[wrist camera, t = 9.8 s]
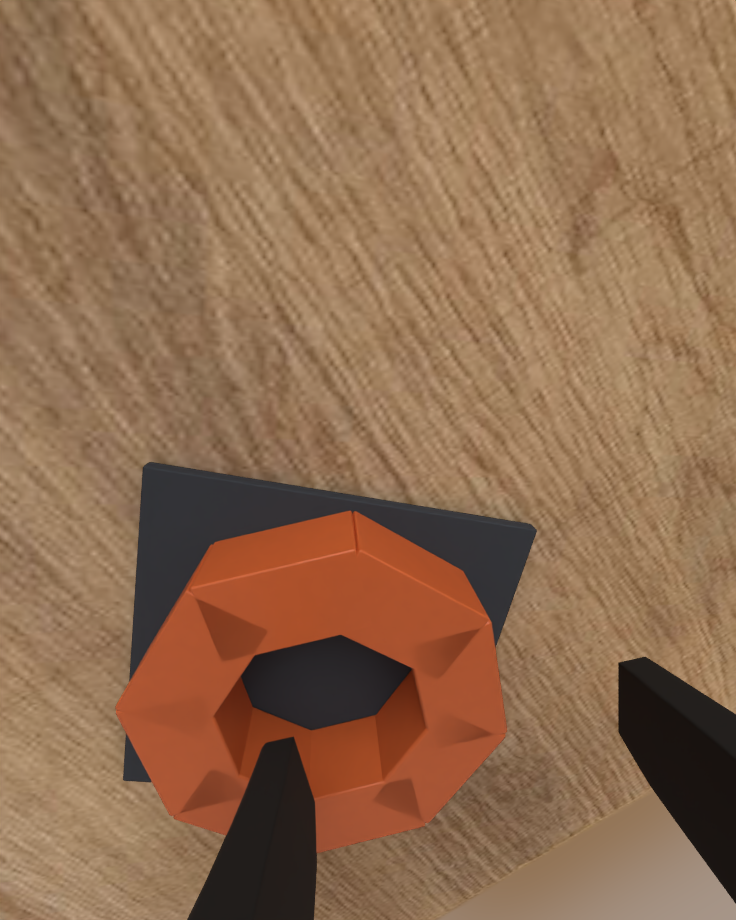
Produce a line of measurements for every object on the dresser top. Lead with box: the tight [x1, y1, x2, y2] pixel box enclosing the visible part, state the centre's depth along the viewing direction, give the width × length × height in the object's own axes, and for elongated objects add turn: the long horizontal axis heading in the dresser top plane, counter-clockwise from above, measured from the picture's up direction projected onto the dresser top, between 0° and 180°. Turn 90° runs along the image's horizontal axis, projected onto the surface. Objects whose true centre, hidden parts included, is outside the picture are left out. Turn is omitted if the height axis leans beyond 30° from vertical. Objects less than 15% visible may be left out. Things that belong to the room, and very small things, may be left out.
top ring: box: [115, 511, 507, 853], centre depth 11 cm, size 9×9×2 cm
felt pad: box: [123, 462, 537, 782], centre depth 12 cm, size 10×10×1 cm
